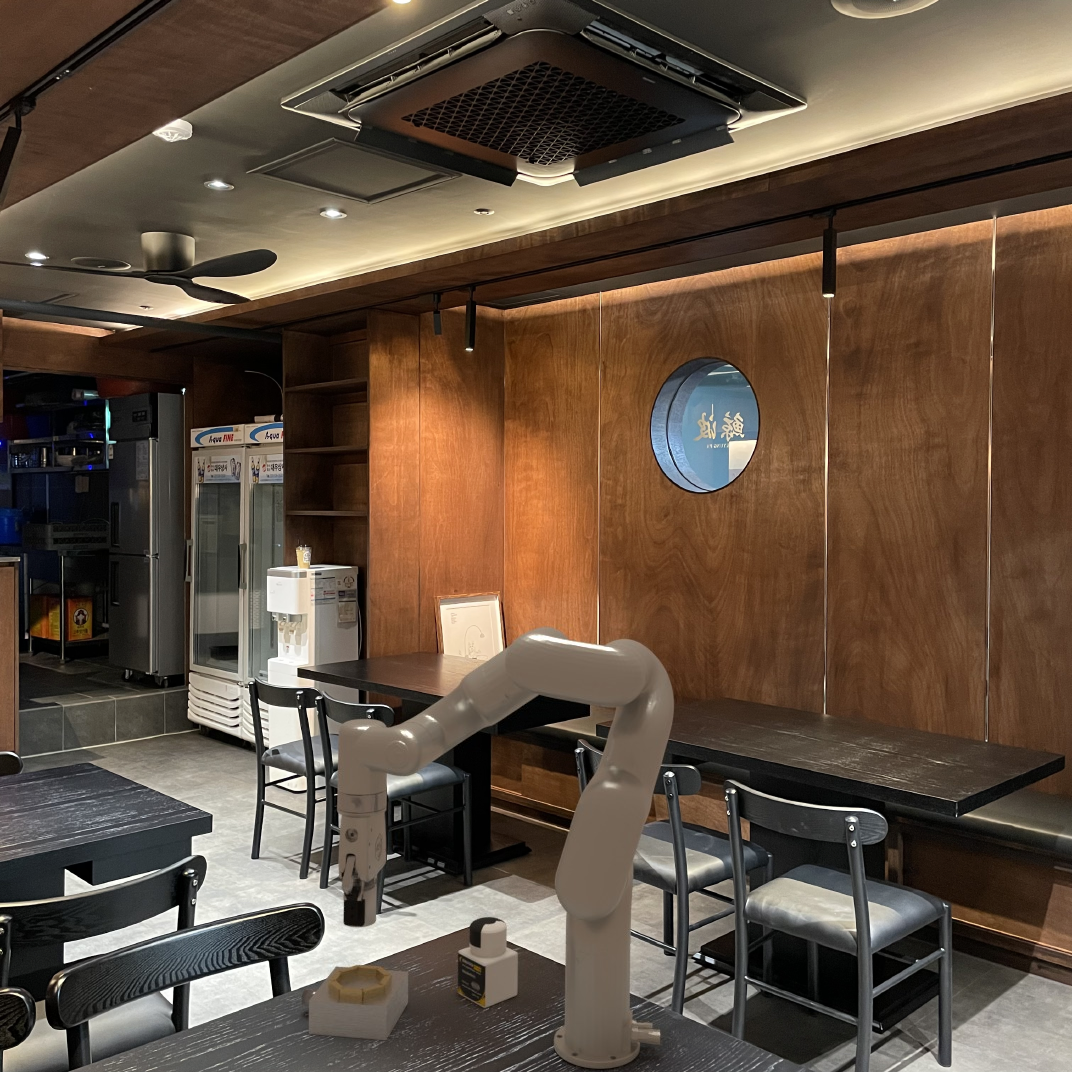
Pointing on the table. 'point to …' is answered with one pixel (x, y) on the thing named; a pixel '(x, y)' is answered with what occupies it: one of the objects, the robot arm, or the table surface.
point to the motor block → (357, 1002)
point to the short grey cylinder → (368, 902)
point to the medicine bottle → (487, 964)
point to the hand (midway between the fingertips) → (360, 916)
